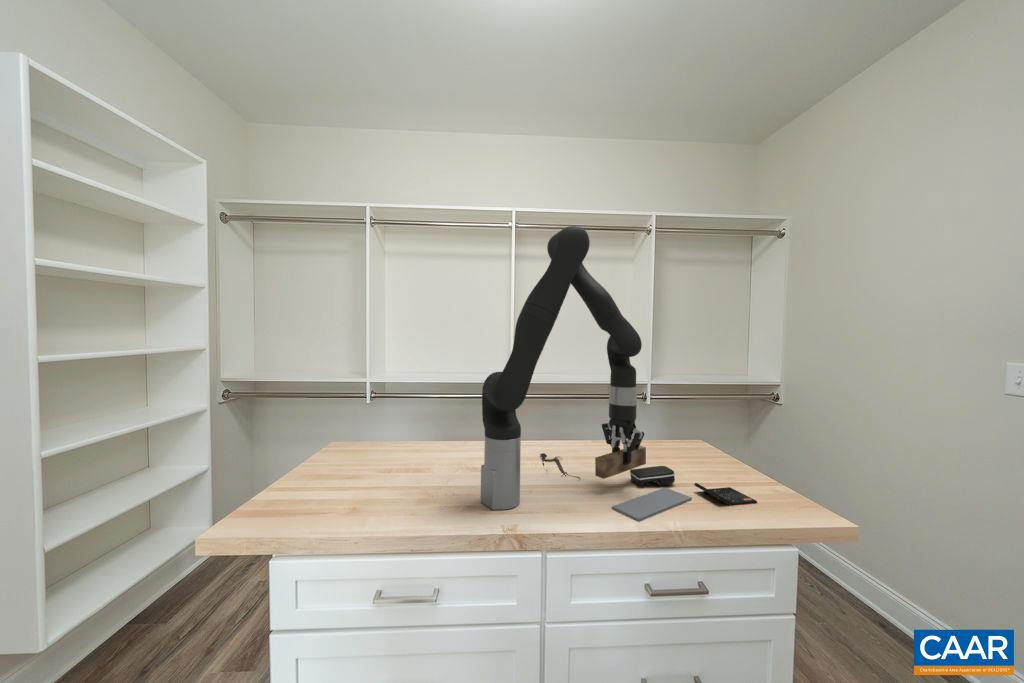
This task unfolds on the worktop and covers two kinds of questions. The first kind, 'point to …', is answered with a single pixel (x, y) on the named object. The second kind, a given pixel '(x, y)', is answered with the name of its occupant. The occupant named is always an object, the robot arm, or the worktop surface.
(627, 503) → the mat
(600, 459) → the wooden block
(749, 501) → the calculator
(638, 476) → the black striped rounded block
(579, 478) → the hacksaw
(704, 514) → the worktop surface
